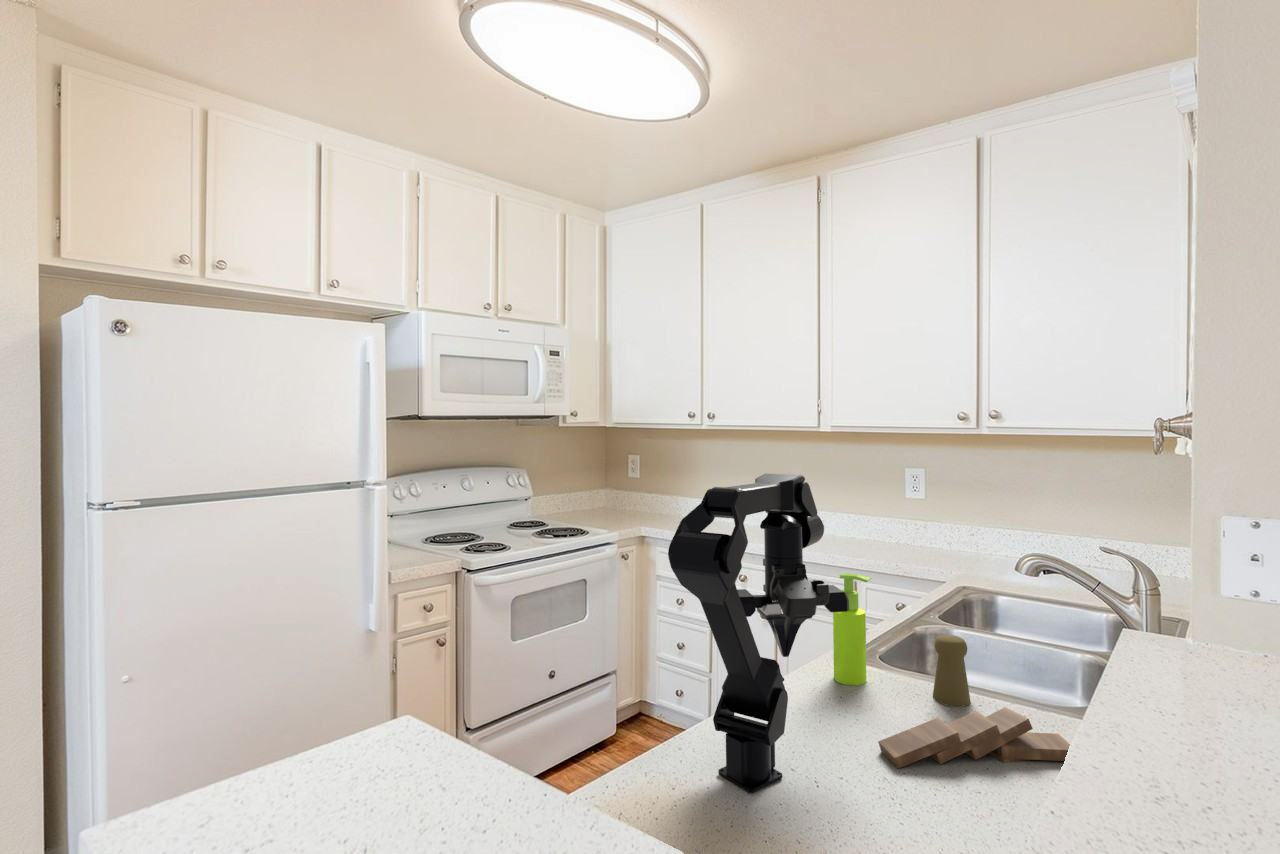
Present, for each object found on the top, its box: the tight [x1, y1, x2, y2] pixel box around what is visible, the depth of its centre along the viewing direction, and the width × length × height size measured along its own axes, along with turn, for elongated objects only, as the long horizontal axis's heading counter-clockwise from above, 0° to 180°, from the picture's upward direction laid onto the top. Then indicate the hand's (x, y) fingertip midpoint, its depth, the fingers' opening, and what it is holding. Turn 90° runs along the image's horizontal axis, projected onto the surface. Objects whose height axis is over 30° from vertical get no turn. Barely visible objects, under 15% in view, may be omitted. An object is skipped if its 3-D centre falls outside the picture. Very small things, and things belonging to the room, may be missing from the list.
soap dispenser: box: [832, 572, 872, 686], centre depth 126 cm, size 6×7×20 cm
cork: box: [932, 634, 972, 707], centre depth 117 cm, size 6×6×11 cm
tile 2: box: [929, 710, 1001, 765], centre depth 98 cm, size 2×5×10 cm
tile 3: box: [964, 706, 1034, 761], centre depth 99 cm, size 2×5×10 cm
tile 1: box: [877, 717, 961, 769], centre depth 97 cm, size 2×5×10 cm
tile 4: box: [995, 731, 1071, 762], centre depth 98 cm, size 2×5×10 cm
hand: (784, 656), depth 103 cm, fingers closed
